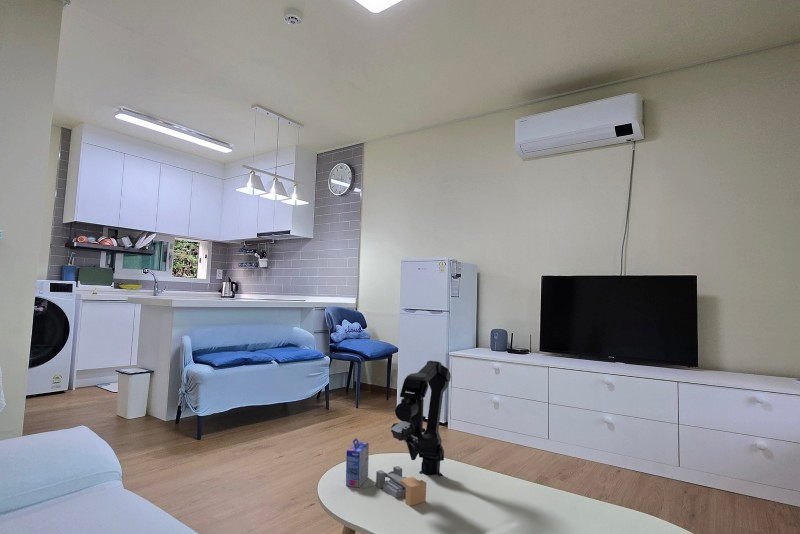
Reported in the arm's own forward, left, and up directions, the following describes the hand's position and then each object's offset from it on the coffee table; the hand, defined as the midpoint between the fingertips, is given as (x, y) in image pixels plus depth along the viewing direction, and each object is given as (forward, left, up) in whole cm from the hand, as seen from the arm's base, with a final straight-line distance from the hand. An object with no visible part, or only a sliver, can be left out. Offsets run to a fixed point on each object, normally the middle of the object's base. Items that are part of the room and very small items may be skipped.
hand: (413, 459), depth 146 cm
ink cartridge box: (+10, -19, -12) cm, 24 cm away
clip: (+3, +4, -10) cm, 12 cm away
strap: (+3, -3, -8) cm, 9 cm away
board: (+3, 0, -12) cm, 12 cm away
